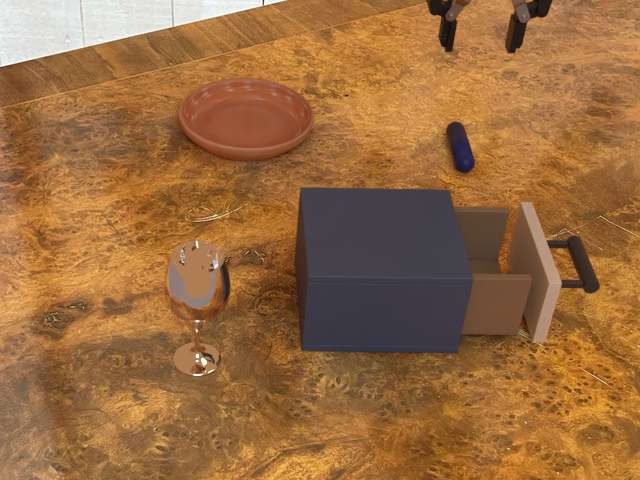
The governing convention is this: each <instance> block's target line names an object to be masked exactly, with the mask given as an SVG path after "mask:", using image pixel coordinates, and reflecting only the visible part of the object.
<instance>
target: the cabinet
mask: <svg viewBox="0 0 640 480" xmlns="http://www.w3.org/2000/svg"><path fill="white" fill-rule="evenodd" d="M298 197H299V198H298V211H297V221H296V222H297V223H296V238H295V251H294V265H295V266H294V270H295V282H296V294H297V308H298V322H299V333H300V334H299V335H300V345H301V346H300V348H301V352H337V353H339V352H341V353H342V352H343V353H344V352H345V353H346V352H349V353H350V352H351V353H352V352H353V353H420V354H423V353H426V354H427V353H428V354H435V353H436V354H458V352H459V346H460V344H461V343H460V342H461V339H462V335H463V334H462V329H463V325H464V320H465V316H466V311H467V307H468V302H469V298H470V293H471V289H472V284H473V279H474V278H473V275H472V271H471V267H470V264H469V260H468V256H467V253H466V249H465V245H464V242H463V238H462V234H461V231H460V227H459V223H458V220H457V216H456V212H455V209H454V207H455V206H454V205H455V204H454V201H453V197H452V194H451V191H450V189H439V188H438V189H435V188H433V189H431V188H430V189H429V188H379V187H377V188H376V187H375V188H374V187H366V188H365V187H315V186H311V187H309V186H307V187H306V186H304V187H303V186H300V187H299V196H298Z"/></svg>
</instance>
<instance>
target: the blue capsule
mask: <svg viewBox="0 0 640 480" xmlns="http://www.w3.org/2000/svg"><path fill="white" fill-rule="evenodd" d="M445 135H446V137H447V141H448V144H449V147H450V151H451V155H452V158H453V162H454V165H455V167H456V169H457V170H458V171H459V172H461V173H468V172H471V171H472V170H473V169H474V168H475V165H476V160H475V157H474V153H473V150H472V147H471V144H470V141H469V137H468V134H467V132H466V128H465V126H464V124H463V123H462V122H460V121H452V122H450V123H449V124H447V126H446V129H445Z"/></svg>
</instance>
